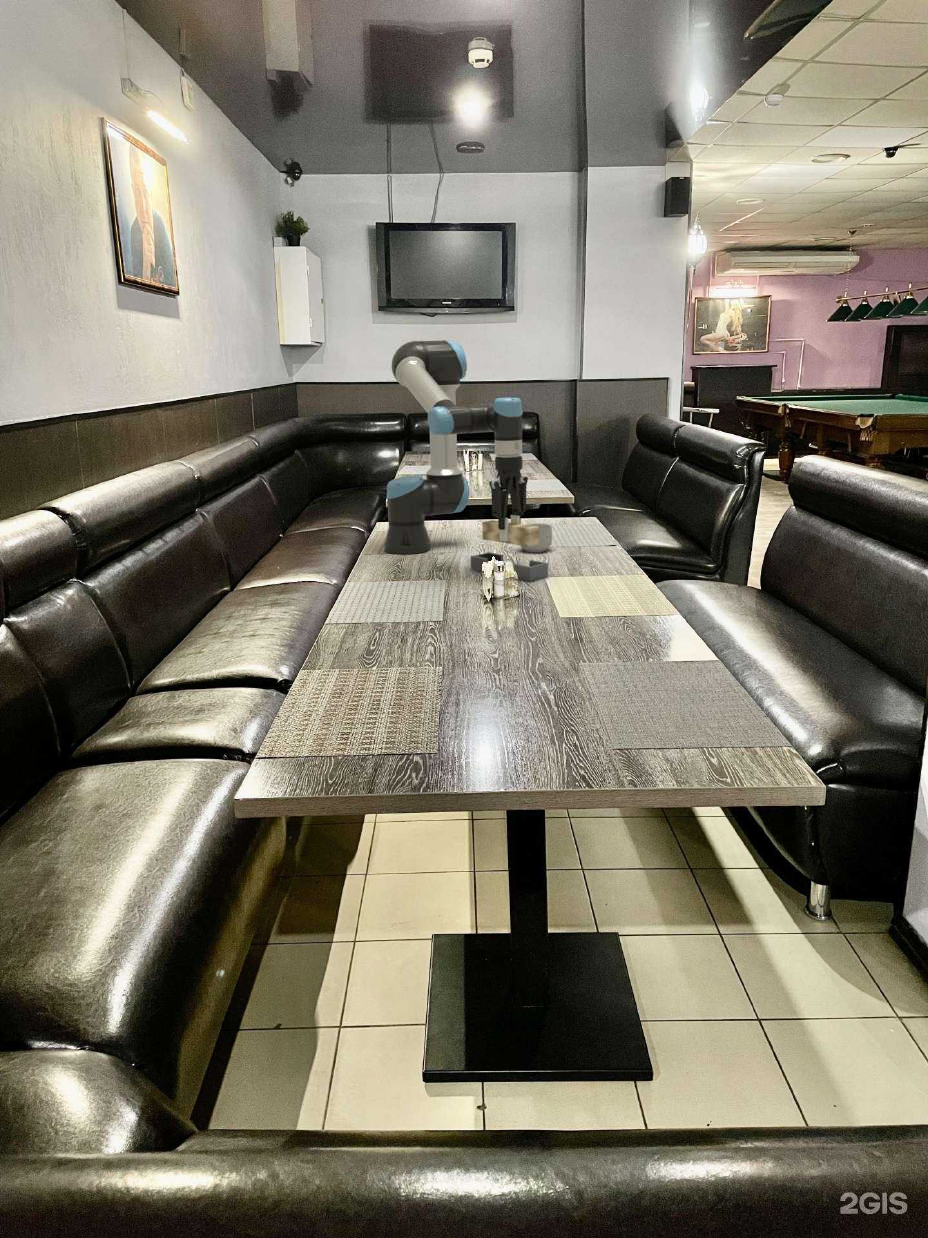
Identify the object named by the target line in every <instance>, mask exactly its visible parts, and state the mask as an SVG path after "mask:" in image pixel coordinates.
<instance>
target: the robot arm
mask: <svg viewBox="0 0 928 1238" xmlns="http://www.w3.org/2000/svg"><path fill="white" fill-rule="evenodd" d="M391 371H392V375H393V376H394V378H395V380H396V381H397V382H398V384H400V385H401V386H403V387H406V388H407V389H408V391H409V392H410V393H411V394H412V396H413V397H414V398H415V400H417V402H418V403H419V405H421V407H422V408H423V409H424V410H425V412H426V413H427V425H428V427H429V446H430V447H429V449H430V450H429V451H430V452H429V453H430V468H429V469H428V470H427V471H426V473H425V474H426V479H424V478H423V476H422V475H405V476H400V477H397V478H394V479H391V480H390V481H388V483H387V485H386V501H387V518H388V519H387V520H388V522H387V523H388V529H387V533H386V537H385V540H384V543H383V544H384V545H383V547H384V549H383V550H384V551H385V552H386V553H389V554H393V555H415V554H421V553H425V552H428V551H430V550H431V549H432V542H431V539H430V537H429V534H428V531H427V529H426V526H425V524H426V522H425V517H426V516H436V515H446V514H449V515H451V514H454V513H460V512H462V511H463V510H464V509H465V508H466V507H467V504H468V502H469V499H470V485H469V480H468V479H467V478H466V477H465V476H463V471H462V470H461V469H460V468H459V467H458V445H457V443H458V440H457V439H458V438H457V436H458V435H459V434H461V435H462V434H475V433H489V432H490V433H491V432H492V433H494V454H495V455H496V456H495V458H494V464H495V465H494V468H495V471H496V472H497V474H496V478H495V479H494V480H491V481H489V487H490V492H491V514H492V517H495V518H497V521H498V528H499V532H500V541H508V522H509V517H507V511H508V504H509V503H508V502H509V498H510V504H511V510H512V514H511V515H510V523H516V524H522V523H521V521H522V519H521V517H522V516H524V513H525V512H527V485H528V481H529V478H528V477H529V476H523V475H522V473H521V471H522V469H523V456H522V454H523V407H522V400H521V398H519V397H499V398H498V397H497V398H495V399H494V402H493V403H483V404H474V405H473V404H472V405H457V403H456V399H457V398H456V397H457V396H456V391H457V389H458V388H459V387H460V386H461V380H462V379H464V378H465V377H466V376H467V371H468V362H467V357H466V354H465V351H464V349H463V347H462V346H461V344H460V343H459V342H457V341H455V340H445V339H443V340H412V341H409V342H405V343H404V344H402V345H401V346H400V347H399V348H398V349H397V350H396V351H395V353H394V354H393V357H392V360H391Z"/></svg>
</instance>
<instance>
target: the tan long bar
mask: <svg viewBox="0 0 928 1238" xmlns="http://www.w3.org/2000/svg"><path fill="white" fill-rule="evenodd" d="M481 525H482V526H481V527H482V528H481V529H482V540H485V541H490V542H491V541H492V542H497V543H505V544H509V545H515V546H520V545H521V546H527V547H531V546H535V545H539V527H538V526H531V525H526V524H522V523H521V524H516V523H511V522H509V521H508V541H500V532H499V528H498V520H493V519H491V520H487V521H482V522H481ZM521 546H520V547H521Z"/></svg>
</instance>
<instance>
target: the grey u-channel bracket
mask: <svg viewBox="0 0 928 1238" xmlns="http://www.w3.org/2000/svg"><path fill="white" fill-rule="evenodd" d="M493 556H494V557H495V559H496V560H498V561H503V562H504V554H502V553H495V552H490V551H487V552H483V553H480V554H475V555H471V556H470V571H476V572H481V573H483V572H482V564H483V562H488V561H491V560H492V557H493Z"/></svg>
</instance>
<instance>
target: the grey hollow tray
mask: <svg viewBox="0 0 928 1238" xmlns="http://www.w3.org/2000/svg"><path fill="white" fill-rule="evenodd" d="M528 563H529V565H523V564H517V563H515V564H513V570H514V569H515V570H516V573H517V575H518V579H517V580H518V581H521V582H522V581H523V582H528V583H532V582H537V581H539V580H542V579H543V580H544V579H546V578H548V577H549V563H548V562H543V561H538V560H534V559H530V560H529V562H528Z"/></svg>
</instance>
